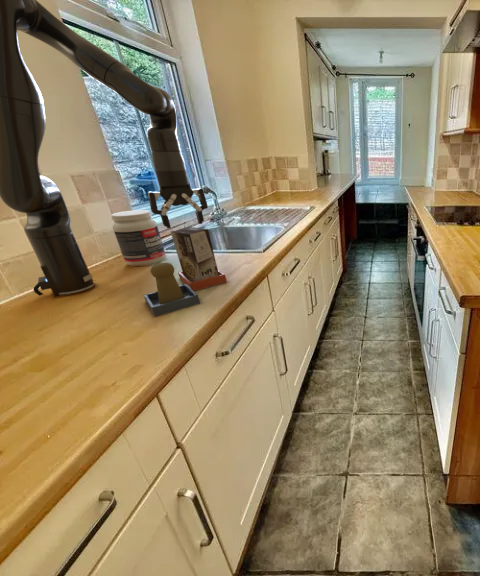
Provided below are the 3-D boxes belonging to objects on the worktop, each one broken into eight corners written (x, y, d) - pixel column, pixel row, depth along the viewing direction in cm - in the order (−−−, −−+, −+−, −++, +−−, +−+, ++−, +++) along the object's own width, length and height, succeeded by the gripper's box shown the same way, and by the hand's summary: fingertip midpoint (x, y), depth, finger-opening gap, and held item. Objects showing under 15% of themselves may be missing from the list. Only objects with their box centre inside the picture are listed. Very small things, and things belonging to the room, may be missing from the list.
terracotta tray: (191, 291, 95) (189, 283, 94) (179, 279, 104) (177, 272, 103) (226, 282, 102) (225, 274, 101) (212, 271, 110) (211, 264, 109)
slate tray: (154, 316, 81) (151, 307, 80) (146, 303, 88) (143, 294, 87) (200, 303, 88) (197, 294, 87) (188, 291, 95) (186, 283, 94)
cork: (176, 306, 85) (164, 268, 81) (154, 306, 85) (141, 268, 81) (189, 296, 91) (179, 260, 86) (168, 296, 91) (157, 260, 86)
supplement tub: (163, 264, 117) (148, 214, 109) (121, 269, 112) (102, 217, 105) (170, 254, 128) (156, 208, 120) (131, 258, 123) (114, 211, 116)
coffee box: (220, 277, 103) (209, 228, 97) (203, 285, 98) (189, 233, 92) (201, 273, 107) (189, 226, 100) (183, 280, 102) (169, 230, 95)
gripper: (194, 167, 96) (206, 220, 103) (137, 168, 87) (154, 227, 94) (202, 168, 91) (214, 224, 98) (142, 170, 82) (160, 231, 89)
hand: (184, 225), depth 96 cm, fingers open, 8 cm apart
